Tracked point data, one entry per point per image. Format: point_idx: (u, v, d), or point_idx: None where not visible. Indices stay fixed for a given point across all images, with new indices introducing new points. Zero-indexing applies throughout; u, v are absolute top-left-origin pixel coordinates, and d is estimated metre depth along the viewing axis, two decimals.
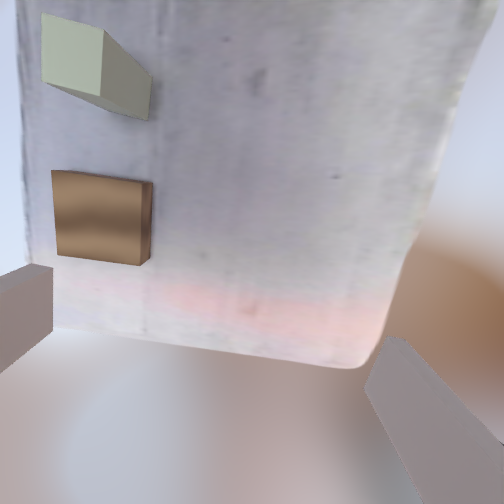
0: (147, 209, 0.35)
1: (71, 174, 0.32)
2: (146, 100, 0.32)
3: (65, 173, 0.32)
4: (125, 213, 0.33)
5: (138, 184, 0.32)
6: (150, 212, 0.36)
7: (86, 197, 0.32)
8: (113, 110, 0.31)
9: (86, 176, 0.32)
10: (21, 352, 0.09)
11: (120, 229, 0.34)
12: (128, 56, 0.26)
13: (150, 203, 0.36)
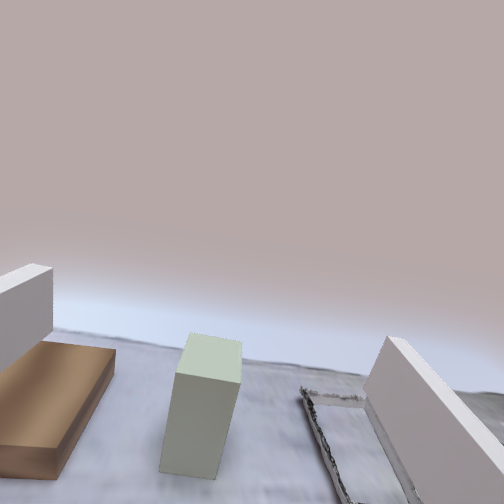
0: (6, 463, 0.19)
1: (105, 364, 0.27)
2: (184, 467, 0.22)
3: (108, 359, 0.28)
4: (16, 418, 0.21)
5: (57, 442, 0.20)
6: None
7: (70, 374, 0.25)
8: None
9: (97, 377, 0.26)
10: (21, 353, 0.09)
11: None
12: (227, 427, 0.21)
13: (16, 474, 0.20)
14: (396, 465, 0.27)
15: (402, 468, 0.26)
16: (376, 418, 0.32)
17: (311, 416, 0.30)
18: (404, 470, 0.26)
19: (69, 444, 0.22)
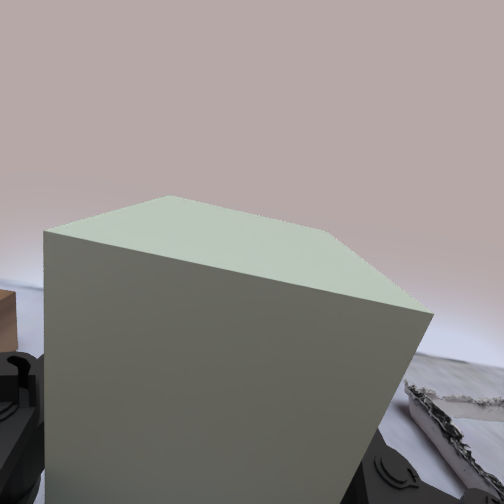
0: None
1: None
2: None
3: None
4: None
5: None
6: None
7: None
8: None
9: None
10: None
11: None
12: None
13: None
14: None
15: None
16: None
17: (458, 446, 0.13)
18: None
19: None
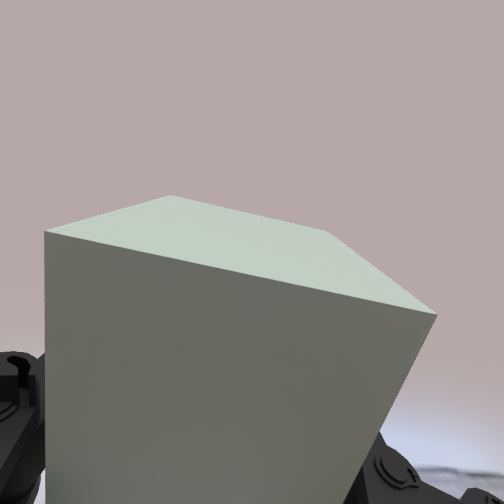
0: None
1: None
2: None
3: None
4: None
5: None
6: None
7: None
8: None
9: None
10: None
11: None
12: None
13: None
14: None
15: None
16: None
17: None
18: None
19: None
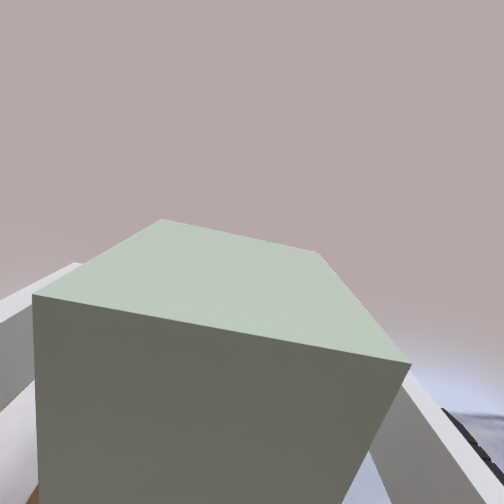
0: None
1: None
2: None
3: None
4: None
5: None
6: None
7: None
8: None
9: None
10: None
11: None
12: None
13: None
14: None
15: None
16: None
17: None
18: None
19: None
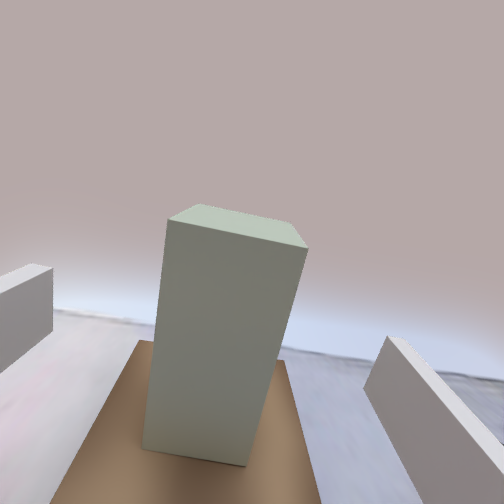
0: None
1: (288, 385, 0.18)
2: (189, 439, 0.12)
3: (286, 377, 0.19)
4: (231, 494, 0.11)
5: None
6: None
7: None
8: None
9: (294, 408, 0.16)
10: (21, 353, 0.09)
11: (183, 474, 0.11)
12: (274, 355, 0.10)
13: None
14: None
15: None
16: None
17: None
18: None
19: None
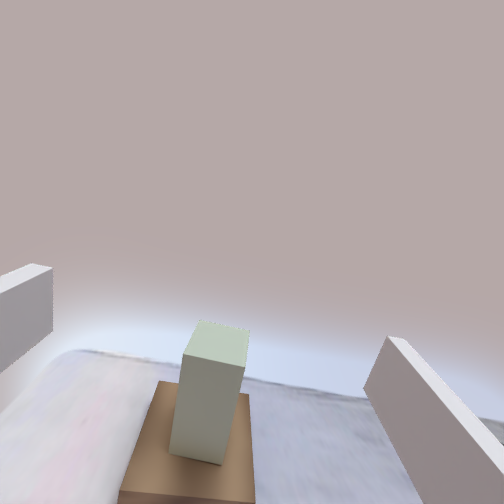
0: None
1: (248, 411, 0.30)
2: (192, 449, 0.23)
3: (248, 406, 0.30)
4: (209, 470, 0.23)
5: (253, 496, 0.22)
6: None
7: None
8: None
9: (249, 426, 0.28)
10: (21, 353, 0.09)
11: (186, 460, 0.23)
12: (232, 411, 0.22)
13: None
14: None
15: None
16: None
17: None
18: None
19: None
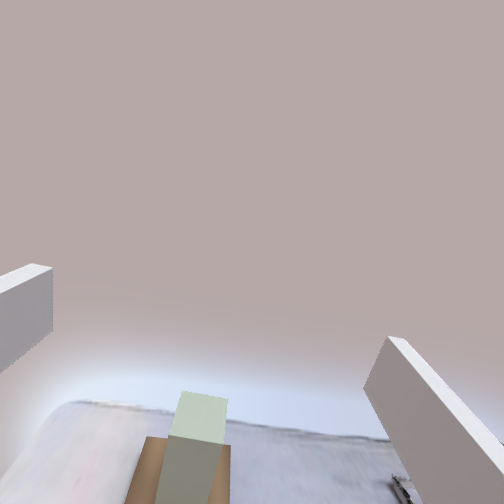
0: None
1: (228, 465, 0.32)
2: None
3: (229, 458, 0.33)
4: None
5: None
6: None
7: None
8: None
9: (228, 481, 0.30)
10: (21, 353, 0.09)
11: None
12: (211, 479, 0.25)
13: None
14: None
15: None
16: None
17: None
18: None
19: None
